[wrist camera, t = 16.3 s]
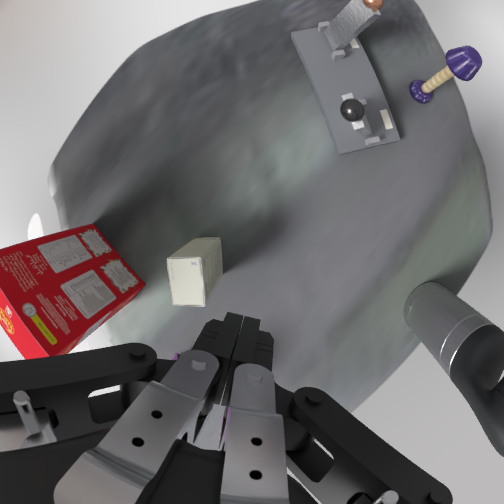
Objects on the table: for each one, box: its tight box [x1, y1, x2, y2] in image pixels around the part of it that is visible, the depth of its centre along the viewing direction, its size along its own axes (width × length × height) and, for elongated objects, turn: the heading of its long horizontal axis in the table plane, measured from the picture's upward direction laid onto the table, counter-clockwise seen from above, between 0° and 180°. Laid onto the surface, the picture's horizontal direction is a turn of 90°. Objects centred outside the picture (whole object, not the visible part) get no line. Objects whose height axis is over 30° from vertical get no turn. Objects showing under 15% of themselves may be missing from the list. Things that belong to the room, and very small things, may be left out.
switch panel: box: [291, 21, 400, 155], centre depth 34 cm, size 10×21×4 cm, turn 18°
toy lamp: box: [409, 46, 482, 104], centre depth 27 cm, size 5×5×17 cm
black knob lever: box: [340, 93, 373, 137], centre depth 30 cm, size 3×4×13 cm, turn 17°
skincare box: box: [167, 237, 223, 307], centre depth 38 cm, size 6×4×12 cm
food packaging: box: [0, 224, 145, 359], centre depth 34 cm, size 15×5×25 cm, turn 43°
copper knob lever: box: [324, 0, 383, 51], centre depth 26 cm, size 3×4×13 cm, turn 18°
